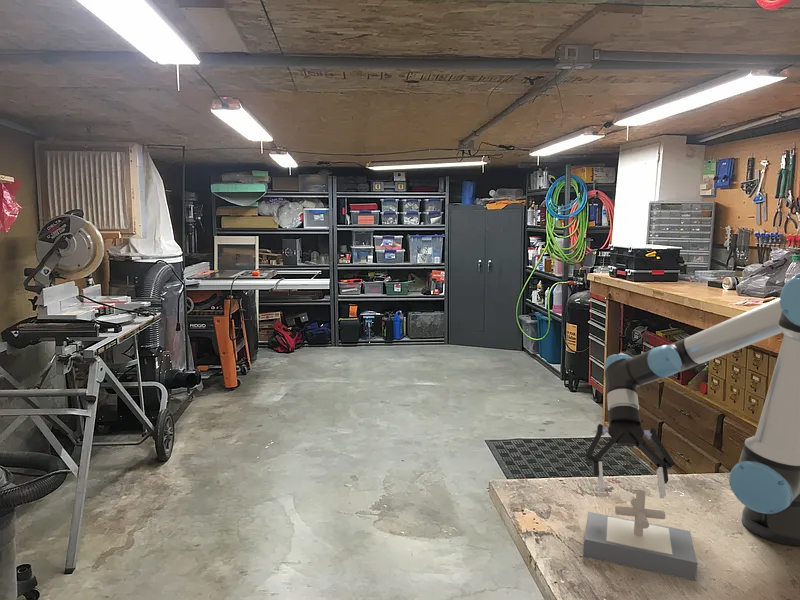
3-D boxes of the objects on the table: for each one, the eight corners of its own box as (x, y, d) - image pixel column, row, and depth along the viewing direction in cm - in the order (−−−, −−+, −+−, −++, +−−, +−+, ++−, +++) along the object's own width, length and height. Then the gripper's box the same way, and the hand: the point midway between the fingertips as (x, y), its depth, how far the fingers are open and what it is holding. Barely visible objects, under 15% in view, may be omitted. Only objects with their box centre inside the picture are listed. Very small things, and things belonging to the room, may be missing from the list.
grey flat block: (688, 547, 125) (690, 530, 125) (695, 580, 114) (697, 561, 113) (587, 527, 134) (588, 510, 133) (583, 556, 122) (584, 538, 121)
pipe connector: (668, 549, 117) (671, 504, 116) (618, 543, 119) (621, 500, 118) (656, 524, 127) (659, 483, 126) (610, 520, 129) (613, 479, 128)
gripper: (672, 421, 142) (684, 504, 130) (571, 413, 147) (574, 493, 135) (679, 407, 136) (694, 493, 124) (574, 400, 141) (578, 482, 129)
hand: (631, 493), depth 129 cm, fingers open, 13 cm apart
